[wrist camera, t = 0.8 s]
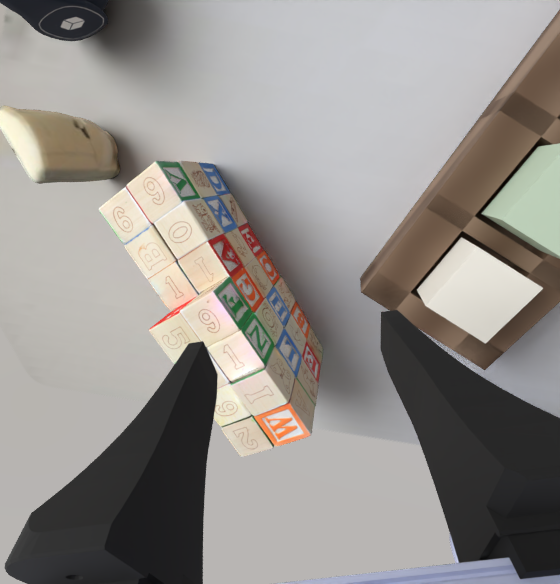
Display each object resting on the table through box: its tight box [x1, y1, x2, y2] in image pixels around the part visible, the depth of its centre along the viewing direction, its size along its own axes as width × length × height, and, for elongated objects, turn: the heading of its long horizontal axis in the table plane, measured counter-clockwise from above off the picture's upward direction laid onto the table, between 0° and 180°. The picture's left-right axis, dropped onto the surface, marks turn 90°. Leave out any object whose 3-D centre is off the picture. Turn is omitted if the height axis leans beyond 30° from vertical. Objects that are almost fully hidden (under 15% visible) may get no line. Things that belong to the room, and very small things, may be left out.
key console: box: [360, 10, 560, 370], centre depth 23 cm, size 12×24×4 cm, turn 150°
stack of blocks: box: [99, 161, 323, 457], centre depth 27 cm, size 21×6×12 cm, turn 31°
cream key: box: [417, 237, 543, 344], centre depth 23 cm, size 5×5×3 cm
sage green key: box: [481, 143, 560, 259], centre depth 20 cm, size 5×5×3 cm
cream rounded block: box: [0, 106, 120, 184], centre depth 27 cm, size 6×5×8 cm
